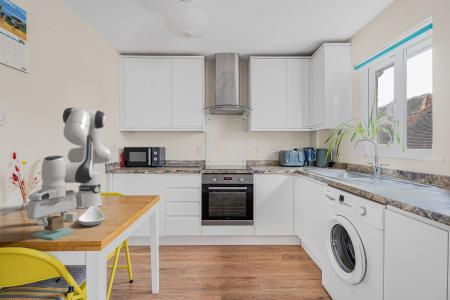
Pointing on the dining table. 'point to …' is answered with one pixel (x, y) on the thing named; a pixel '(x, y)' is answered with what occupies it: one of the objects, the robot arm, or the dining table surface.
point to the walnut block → (54, 223)
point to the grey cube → (71, 216)
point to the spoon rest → (91, 216)
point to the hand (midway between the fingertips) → (53, 224)
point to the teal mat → (53, 233)
